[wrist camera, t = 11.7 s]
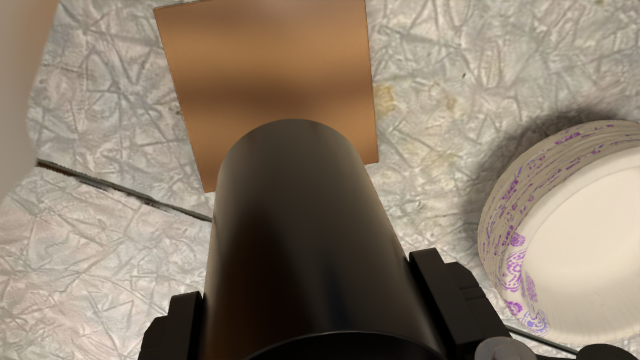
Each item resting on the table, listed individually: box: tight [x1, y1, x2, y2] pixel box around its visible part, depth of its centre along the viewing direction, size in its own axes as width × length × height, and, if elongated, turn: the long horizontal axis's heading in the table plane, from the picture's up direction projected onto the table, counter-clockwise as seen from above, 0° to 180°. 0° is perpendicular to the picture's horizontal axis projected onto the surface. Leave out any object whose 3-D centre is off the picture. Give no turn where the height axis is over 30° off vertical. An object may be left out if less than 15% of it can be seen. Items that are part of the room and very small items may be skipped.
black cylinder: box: [195, 119, 454, 360], centre depth 15 cm, size 6×6×11 cm
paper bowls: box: [477, 120, 640, 345], centre depth 35 cm, size 15×15×8 cm
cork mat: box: [153, 0, 379, 193], centre depth 31 cm, size 12×12×1 cm
